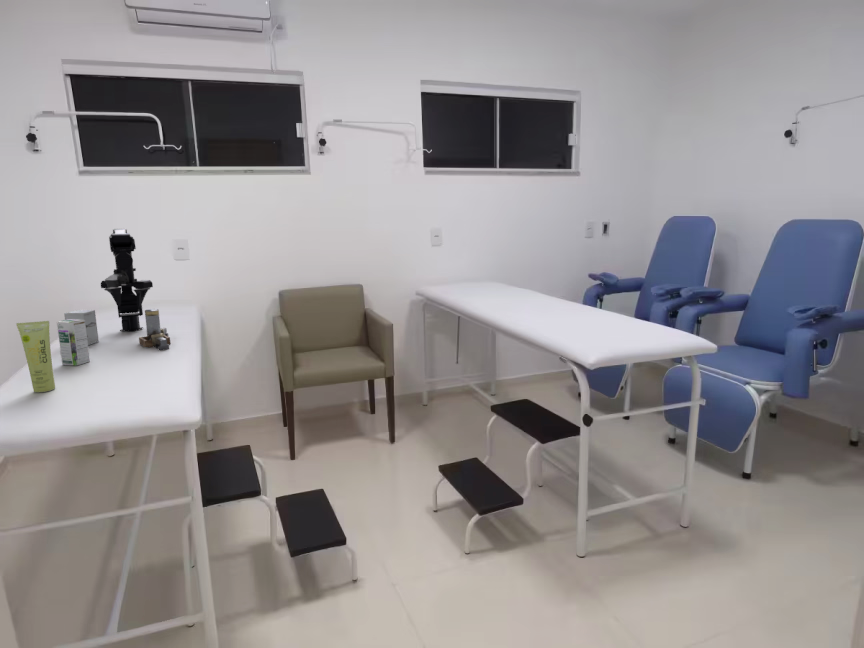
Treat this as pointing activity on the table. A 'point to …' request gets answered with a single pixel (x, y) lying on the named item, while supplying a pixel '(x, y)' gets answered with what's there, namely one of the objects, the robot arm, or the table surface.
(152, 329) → the grey cylinder
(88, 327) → the supplement box
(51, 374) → the tube
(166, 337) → the hollow wooden square frame
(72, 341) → the syrup box
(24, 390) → the table surface
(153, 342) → the grey and wooden pieces
